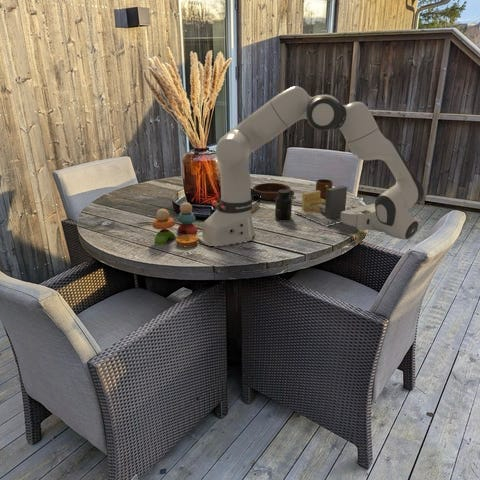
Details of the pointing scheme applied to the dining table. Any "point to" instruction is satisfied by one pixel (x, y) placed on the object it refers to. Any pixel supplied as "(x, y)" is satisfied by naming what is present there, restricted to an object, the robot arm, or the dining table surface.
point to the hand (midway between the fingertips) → (349, 208)
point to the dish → (271, 190)
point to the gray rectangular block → (335, 202)
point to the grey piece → (315, 208)
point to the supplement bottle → (283, 205)
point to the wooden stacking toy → (186, 219)
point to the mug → (323, 187)
